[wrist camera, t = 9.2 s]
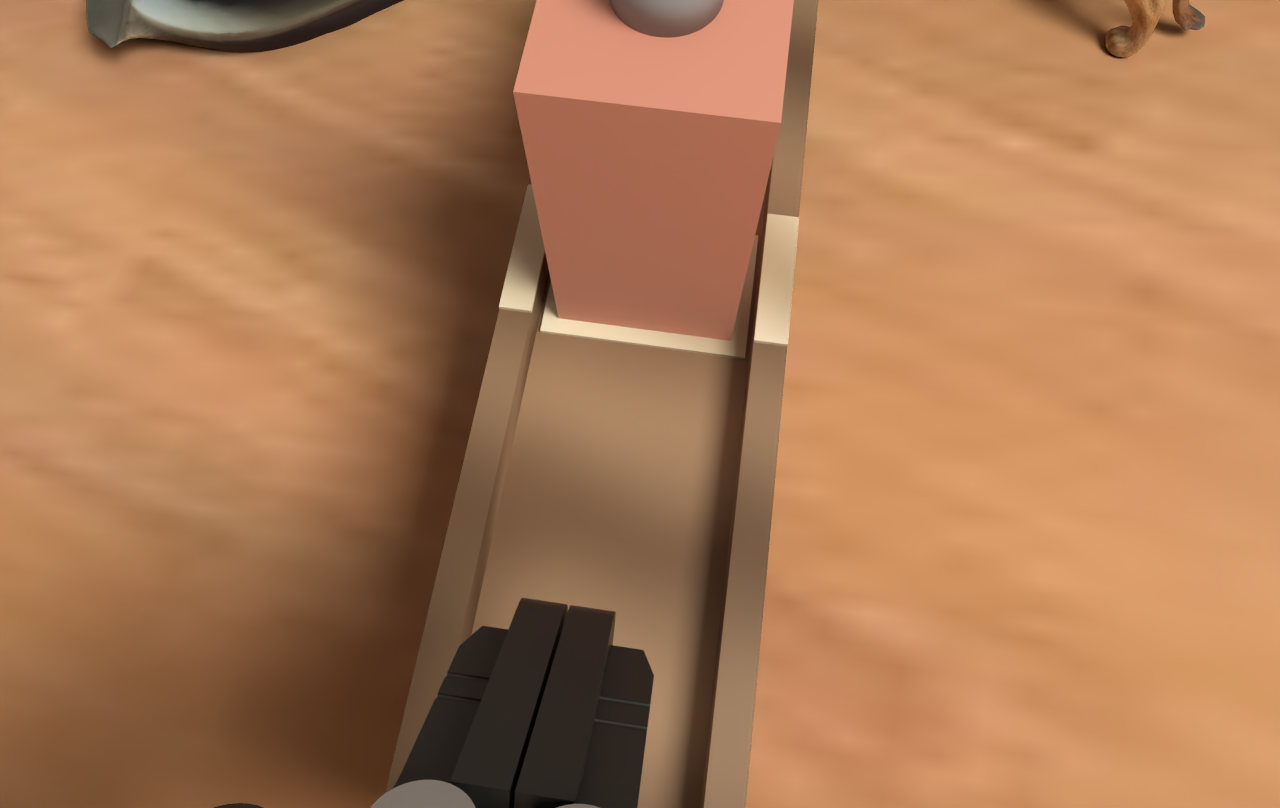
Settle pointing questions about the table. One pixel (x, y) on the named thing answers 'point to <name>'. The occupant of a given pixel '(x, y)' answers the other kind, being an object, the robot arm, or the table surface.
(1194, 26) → the lion figurine
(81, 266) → the table surface
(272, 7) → the salad plate
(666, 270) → the rider
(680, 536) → the beam
